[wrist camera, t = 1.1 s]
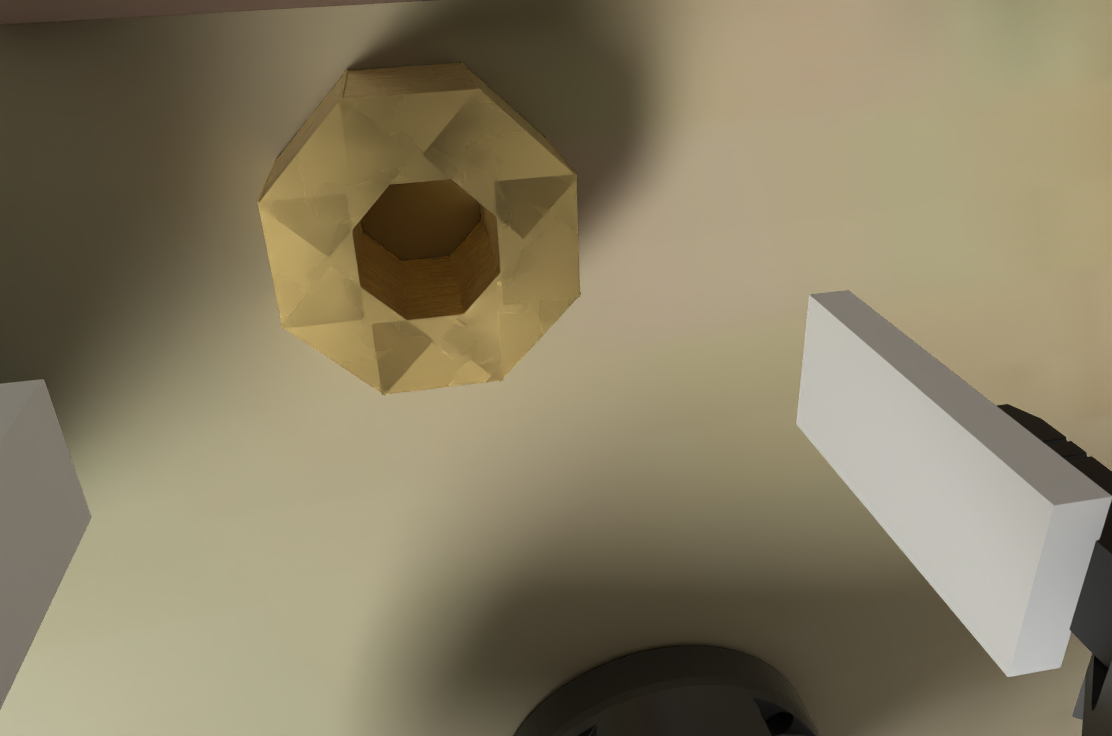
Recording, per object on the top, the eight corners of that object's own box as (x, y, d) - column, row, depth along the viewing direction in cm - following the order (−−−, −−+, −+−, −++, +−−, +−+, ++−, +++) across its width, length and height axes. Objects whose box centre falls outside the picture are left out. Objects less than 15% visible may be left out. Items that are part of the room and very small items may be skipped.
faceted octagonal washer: (553, 308, 31) (583, 371, 26) (308, 334, 29) (296, 406, 25) (542, 55, 27) (574, 80, 22) (260, 74, 26) (237, 104, 21)
